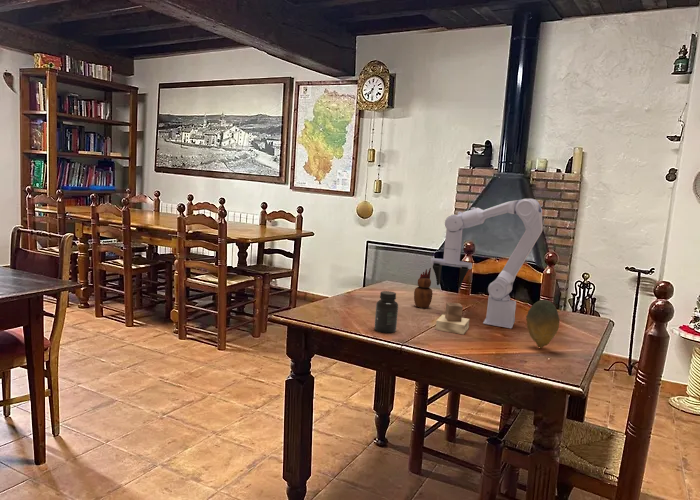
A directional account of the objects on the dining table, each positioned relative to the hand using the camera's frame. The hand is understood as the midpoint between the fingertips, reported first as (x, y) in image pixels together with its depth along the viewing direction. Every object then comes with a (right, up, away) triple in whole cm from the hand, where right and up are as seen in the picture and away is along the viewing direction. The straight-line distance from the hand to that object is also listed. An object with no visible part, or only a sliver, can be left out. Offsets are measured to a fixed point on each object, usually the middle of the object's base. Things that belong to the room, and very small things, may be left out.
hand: (448, 286), depth 189 cm
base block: (-2, -13, -17) cm, 22 cm away
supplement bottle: (-24, -12, -24) cm, 37 cm away
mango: (+21, -17, -32) cm, 42 cm away
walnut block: (-2, -10, -17) cm, 20 cm away
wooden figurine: (-8, -9, +9) cm, 15 cm away
